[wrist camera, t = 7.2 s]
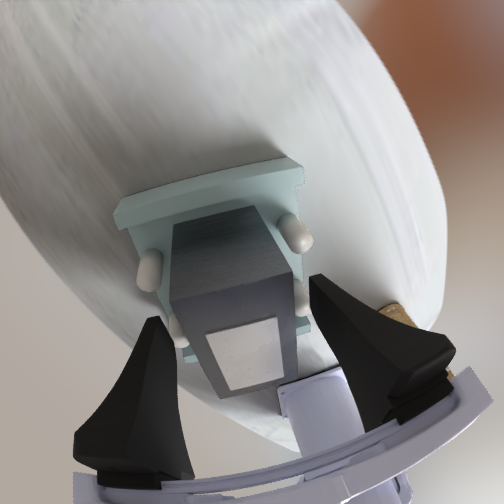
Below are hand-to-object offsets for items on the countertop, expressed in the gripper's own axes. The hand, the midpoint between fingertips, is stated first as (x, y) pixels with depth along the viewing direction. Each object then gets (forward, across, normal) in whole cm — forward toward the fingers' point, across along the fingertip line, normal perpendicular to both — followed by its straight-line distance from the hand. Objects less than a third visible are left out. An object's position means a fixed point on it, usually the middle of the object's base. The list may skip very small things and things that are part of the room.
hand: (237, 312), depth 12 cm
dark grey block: (+3, 0, 0) cm, 3 cm away
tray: (+4, 0, 0) cm, 4 cm away
